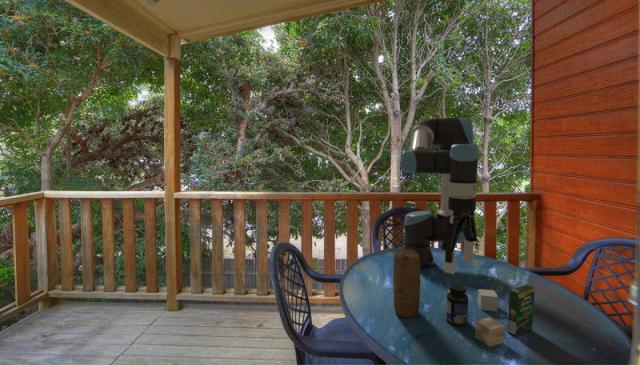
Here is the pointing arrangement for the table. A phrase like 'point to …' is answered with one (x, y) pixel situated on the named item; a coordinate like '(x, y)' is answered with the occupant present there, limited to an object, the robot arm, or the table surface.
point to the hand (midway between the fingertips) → (459, 267)
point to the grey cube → (487, 300)
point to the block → (406, 282)
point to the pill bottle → (457, 305)
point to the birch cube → (489, 331)
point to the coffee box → (521, 310)
